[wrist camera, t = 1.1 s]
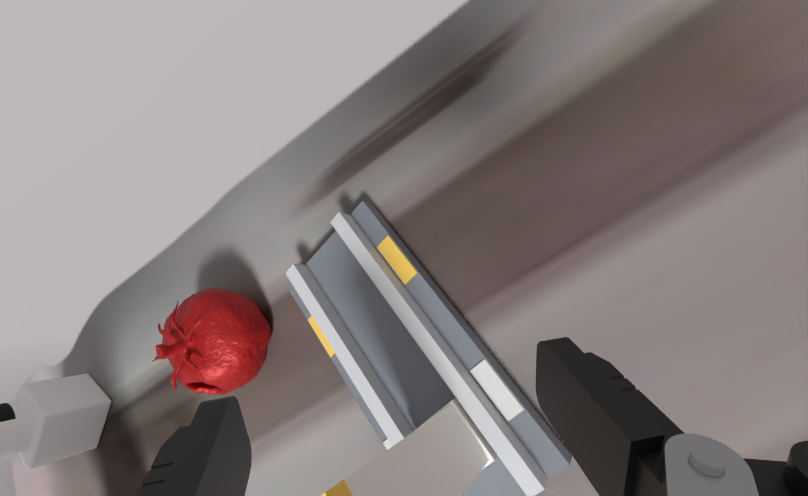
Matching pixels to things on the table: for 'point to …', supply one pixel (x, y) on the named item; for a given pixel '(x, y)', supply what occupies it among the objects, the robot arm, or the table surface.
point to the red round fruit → (214, 341)
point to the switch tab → (426, 460)
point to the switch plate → (416, 352)
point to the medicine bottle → (53, 420)
